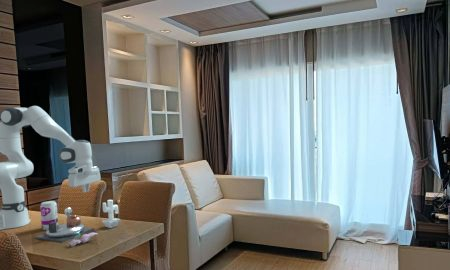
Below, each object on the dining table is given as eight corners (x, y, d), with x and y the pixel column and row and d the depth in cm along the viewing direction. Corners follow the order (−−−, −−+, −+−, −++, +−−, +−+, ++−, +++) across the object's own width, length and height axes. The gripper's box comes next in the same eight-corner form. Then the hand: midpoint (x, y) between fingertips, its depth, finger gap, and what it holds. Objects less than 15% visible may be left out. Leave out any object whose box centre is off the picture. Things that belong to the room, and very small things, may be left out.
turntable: (38, 235, 172) (37, 222, 172) (68, 225, 188) (67, 213, 188) (62, 238, 165) (61, 224, 164) (91, 227, 181) (90, 215, 181)
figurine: (122, 224, 188) (121, 198, 188) (108, 229, 181) (107, 202, 180) (114, 223, 192) (112, 197, 192) (100, 227, 185) (98, 201, 184)
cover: (64, 226, 180) (63, 216, 180) (74, 222, 186) (74, 213, 186) (73, 227, 177) (72, 217, 177) (83, 223, 183) (83, 214, 183)
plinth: (35, 238, 172) (35, 236, 172) (68, 226, 190) (68, 225, 190) (62, 242, 163) (62, 240, 163) (94, 229, 181) (94, 228, 181)
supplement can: (51, 230, 184) (49, 203, 184) (38, 230, 186) (36, 204, 186) (61, 226, 192) (59, 200, 192) (48, 226, 194) (47, 200, 194)
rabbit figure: (70, 251, 153) (100, 238, 164) (67, 239, 153) (98, 226, 163) (65, 248, 158) (95, 235, 168) (62, 237, 157) (93, 224, 167)
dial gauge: (62, 227, 185) (61, 208, 185) (70, 224, 190) (69, 206, 190) (68, 228, 183) (67, 209, 183) (76, 225, 188) (75, 206, 188)
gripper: (94, 165, 200) (96, 188, 200) (65, 170, 181) (67, 195, 182) (102, 165, 197) (103, 188, 198) (73, 170, 179) (75, 196, 179)
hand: (86, 192), depth 190 cm, fingers closed
